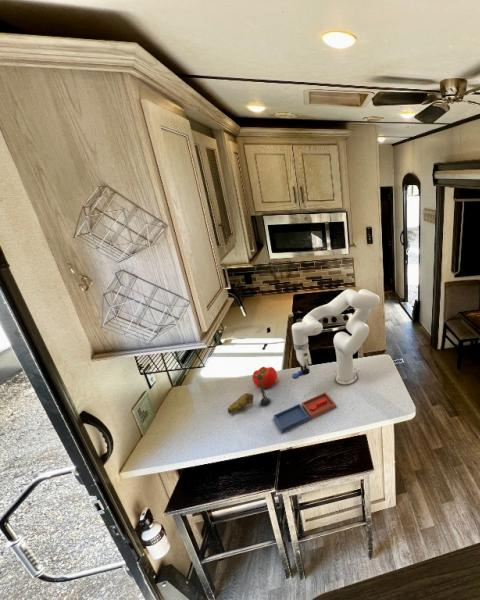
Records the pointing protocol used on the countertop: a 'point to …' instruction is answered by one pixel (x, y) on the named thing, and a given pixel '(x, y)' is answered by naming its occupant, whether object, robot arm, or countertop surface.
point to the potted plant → (262, 390)
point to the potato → (241, 403)
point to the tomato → (266, 377)
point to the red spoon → (318, 404)
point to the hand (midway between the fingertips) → (305, 373)
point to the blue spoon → (298, 374)
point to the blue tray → (291, 418)
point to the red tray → (321, 409)
